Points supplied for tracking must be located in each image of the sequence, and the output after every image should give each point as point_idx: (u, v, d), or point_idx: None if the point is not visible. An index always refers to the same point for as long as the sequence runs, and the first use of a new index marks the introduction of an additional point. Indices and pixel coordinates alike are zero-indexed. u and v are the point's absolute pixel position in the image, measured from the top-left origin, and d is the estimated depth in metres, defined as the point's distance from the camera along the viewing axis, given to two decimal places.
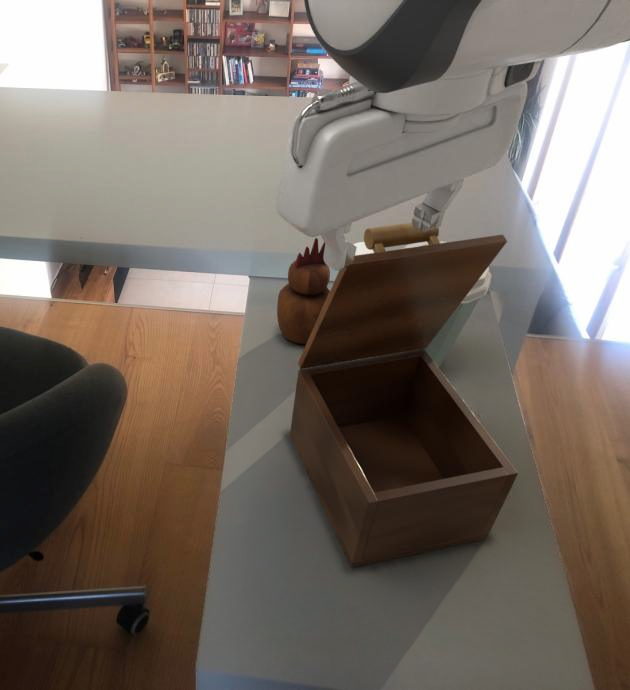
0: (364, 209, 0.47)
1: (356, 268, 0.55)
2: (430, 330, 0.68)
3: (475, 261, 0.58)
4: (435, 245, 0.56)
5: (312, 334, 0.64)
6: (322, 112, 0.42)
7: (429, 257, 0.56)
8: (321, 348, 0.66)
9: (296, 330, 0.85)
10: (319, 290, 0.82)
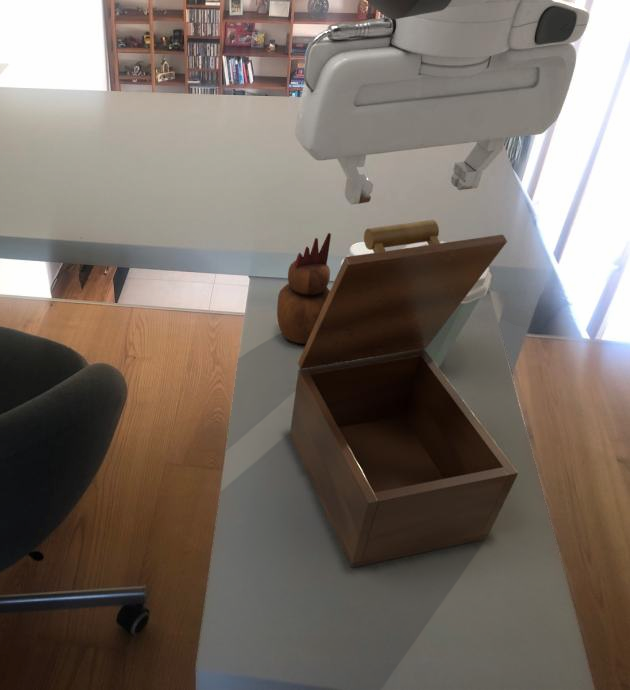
0: (375, 144, 0.51)
1: (356, 268, 0.55)
2: (430, 330, 0.68)
3: (475, 261, 0.58)
4: (435, 245, 0.56)
5: (312, 334, 0.64)
6: (335, 41, 0.47)
7: (429, 257, 0.56)
8: (321, 348, 0.66)
9: (296, 330, 0.85)
10: (319, 290, 0.82)
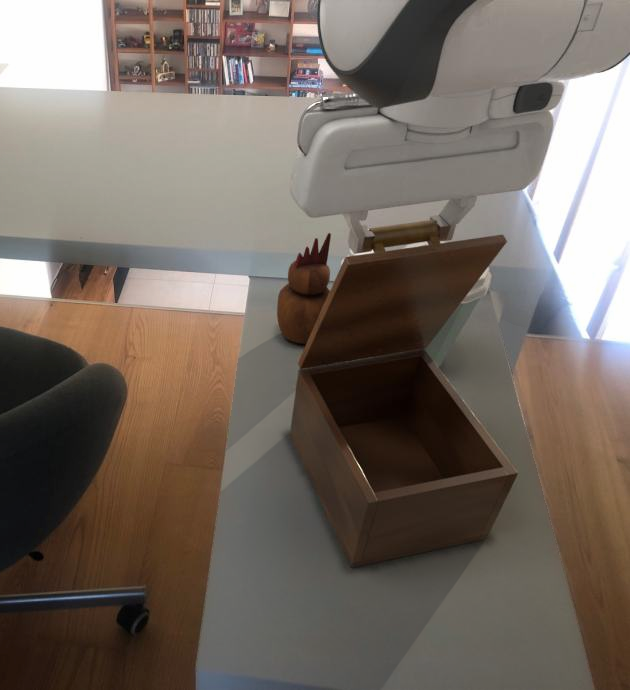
0: (365, 202, 0.54)
1: (356, 268, 0.55)
2: (430, 330, 0.68)
3: (475, 261, 0.58)
4: (435, 245, 0.56)
5: (312, 334, 0.64)
6: (326, 111, 0.50)
7: (429, 257, 0.56)
8: (321, 348, 0.66)
9: (296, 330, 0.85)
10: (319, 290, 0.82)
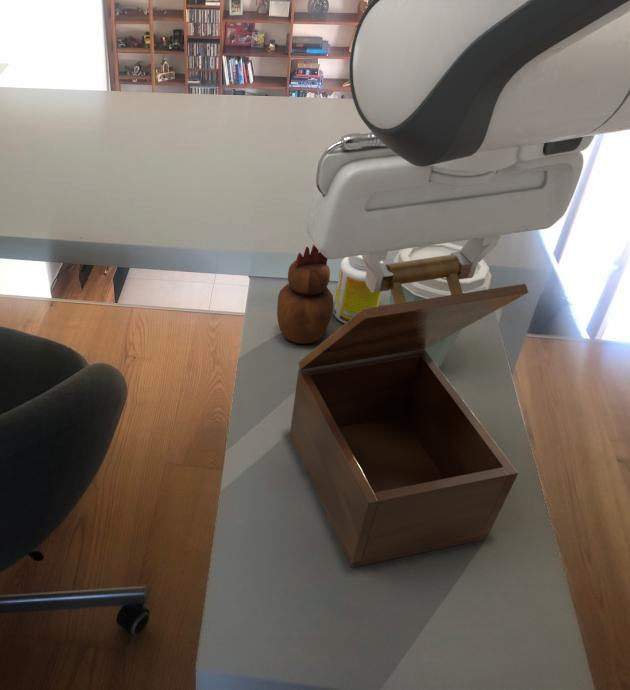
0: (385, 244, 0.52)
1: (372, 319, 0.53)
2: (433, 340, 0.68)
3: (492, 304, 0.56)
4: (455, 296, 0.54)
5: (317, 350, 0.64)
6: (347, 152, 0.48)
7: (447, 307, 0.54)
8: (324, 358, 0.66)
9: (296, 330, 0.85)
10: (319, 290, 0.82)
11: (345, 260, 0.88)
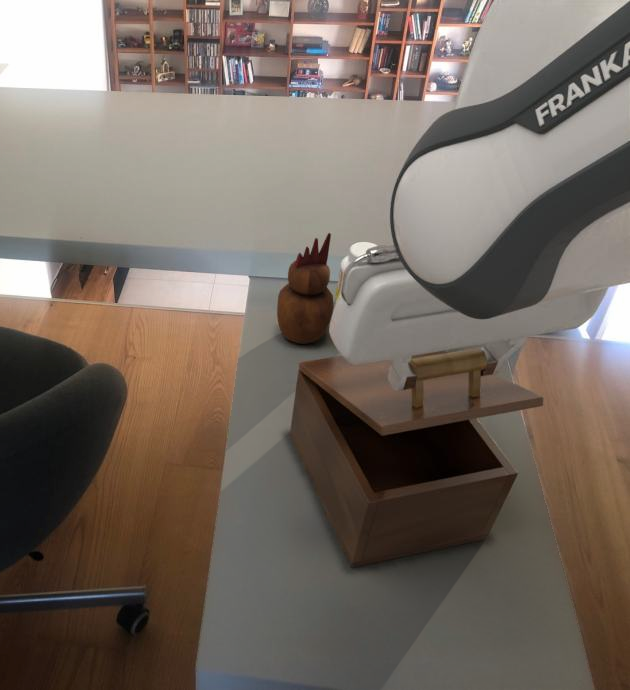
0: (410, 350, 0.50)
1: None
2: None
3: None
4: (473, 411, 0.54)
5: (322, 384, 0.64)
6: (374, 264, 0.46)
7: None
8: None
9: (296, 330, 0.85)
10: (319, 290, 0.82)
11: (345, 260, 0.88)
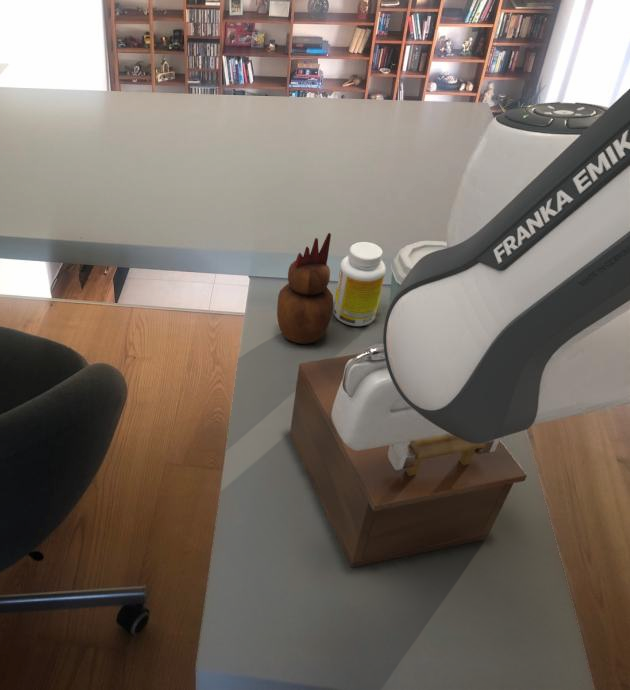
0: (409, 436, 0.53)
1: None
2: None
3: None
4: (460, 489, 0.58)
5: (321, 408, 0.65)
6: (373, 361, 0.49)
7: None
8: None
9: (296, 330, 0.85)
10: (319, 290, 0.82)
11: (345, 260, 0.88)
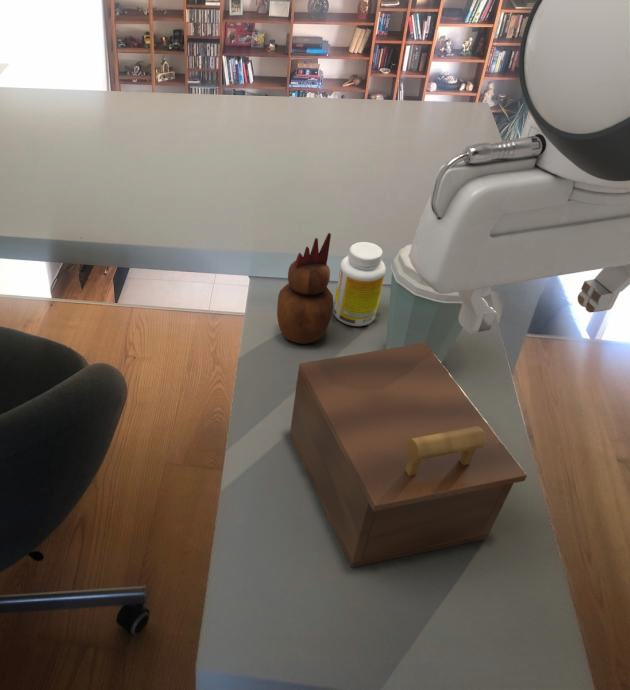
0: (508, 275, 0.43)
1: None
2: None
3: None
4: (460, 489, 0.58)
5: (321, 408, 0.65)
6: (472, 165, 0.39)
7: None
8: None
9: (296, 330, 0.85)
10: (319, 290, 0.82)
11: (345, 260, 0.88)
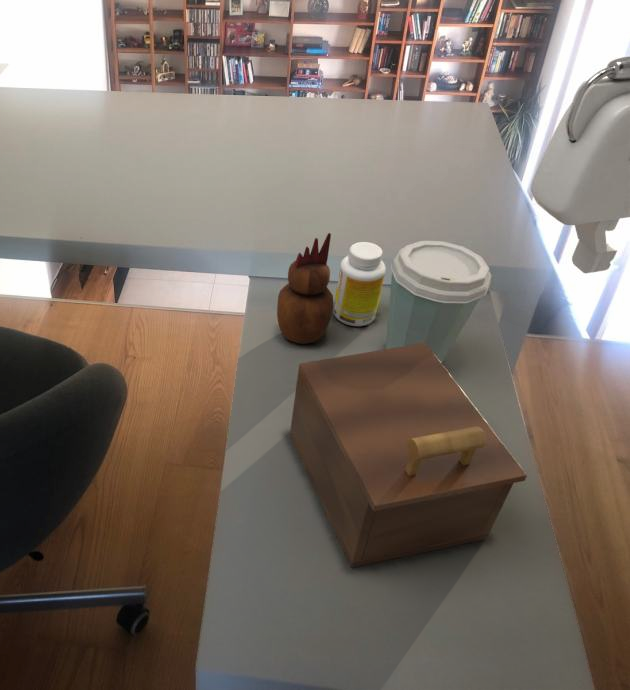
0: None
1: None
2: None
3: None
4: (460, 489, 0.58)
5: (321, 408, 0.65)
6: (617, 81, 0.37)
7: None
8: None
9: (296, 330, 0.85)
10: (319, 290, 0.82)
11: (345, 260, 0.88)
